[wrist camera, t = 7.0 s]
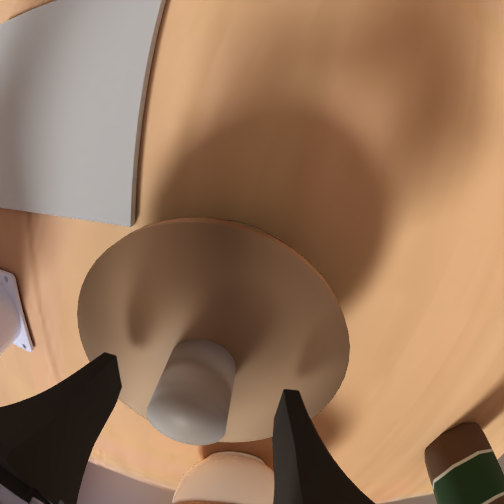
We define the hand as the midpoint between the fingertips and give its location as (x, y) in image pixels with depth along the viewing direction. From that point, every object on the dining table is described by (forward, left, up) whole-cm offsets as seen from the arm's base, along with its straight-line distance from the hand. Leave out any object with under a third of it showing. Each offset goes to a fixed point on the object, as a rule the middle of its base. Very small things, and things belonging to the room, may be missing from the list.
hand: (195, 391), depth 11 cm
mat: (-13, +12, -7) cm, 19 cm away
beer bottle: (+27, -15, -7) cm, 32 cm away
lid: (0, 0, -2) cm, 2 cm away
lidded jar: (+3, -19, -7) cm, 20 cm away
